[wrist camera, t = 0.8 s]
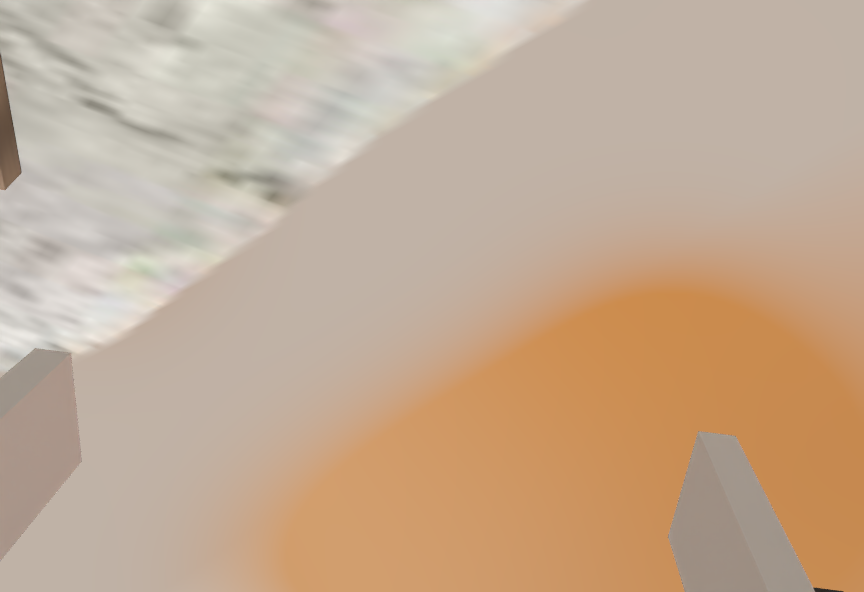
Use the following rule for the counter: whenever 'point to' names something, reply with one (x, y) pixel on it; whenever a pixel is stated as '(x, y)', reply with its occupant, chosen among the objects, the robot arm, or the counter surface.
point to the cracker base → (7, 140)
